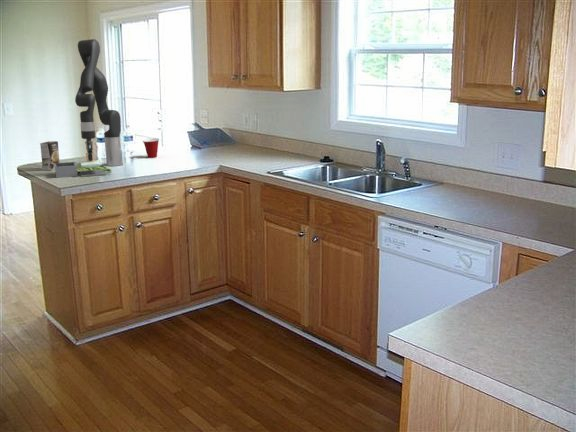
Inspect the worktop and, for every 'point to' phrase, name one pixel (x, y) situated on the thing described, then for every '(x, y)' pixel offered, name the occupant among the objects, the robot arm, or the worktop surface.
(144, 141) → the plastic cup
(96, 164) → the lid
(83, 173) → the mat
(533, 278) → the worktop surface
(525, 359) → the worktop surface
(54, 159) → the coffee box
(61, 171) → the tub
